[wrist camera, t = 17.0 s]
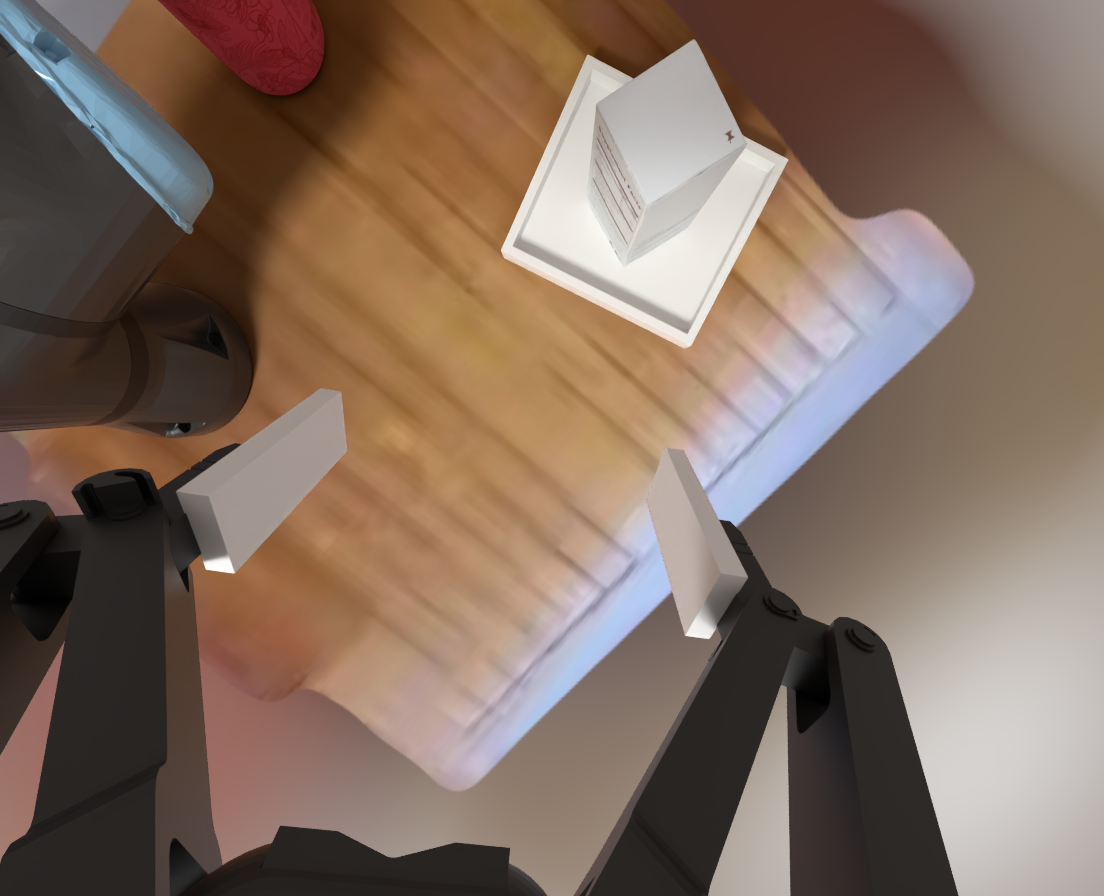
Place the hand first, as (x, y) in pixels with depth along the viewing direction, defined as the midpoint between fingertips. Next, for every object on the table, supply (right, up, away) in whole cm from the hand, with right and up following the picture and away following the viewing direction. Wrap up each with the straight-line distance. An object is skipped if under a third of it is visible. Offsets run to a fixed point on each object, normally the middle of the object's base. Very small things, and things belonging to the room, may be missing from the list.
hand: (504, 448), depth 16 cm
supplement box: (+10, +22, +21) cm, 32 cm away
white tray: (+10, +22, +22) cm, 33 cm away
